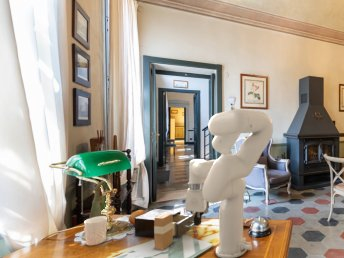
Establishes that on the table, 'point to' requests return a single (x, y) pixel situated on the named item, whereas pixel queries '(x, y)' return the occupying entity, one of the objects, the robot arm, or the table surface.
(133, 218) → the fruit
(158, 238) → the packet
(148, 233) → the cabinet
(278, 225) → the table surface
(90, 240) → the white cup
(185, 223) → the drawer
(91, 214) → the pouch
